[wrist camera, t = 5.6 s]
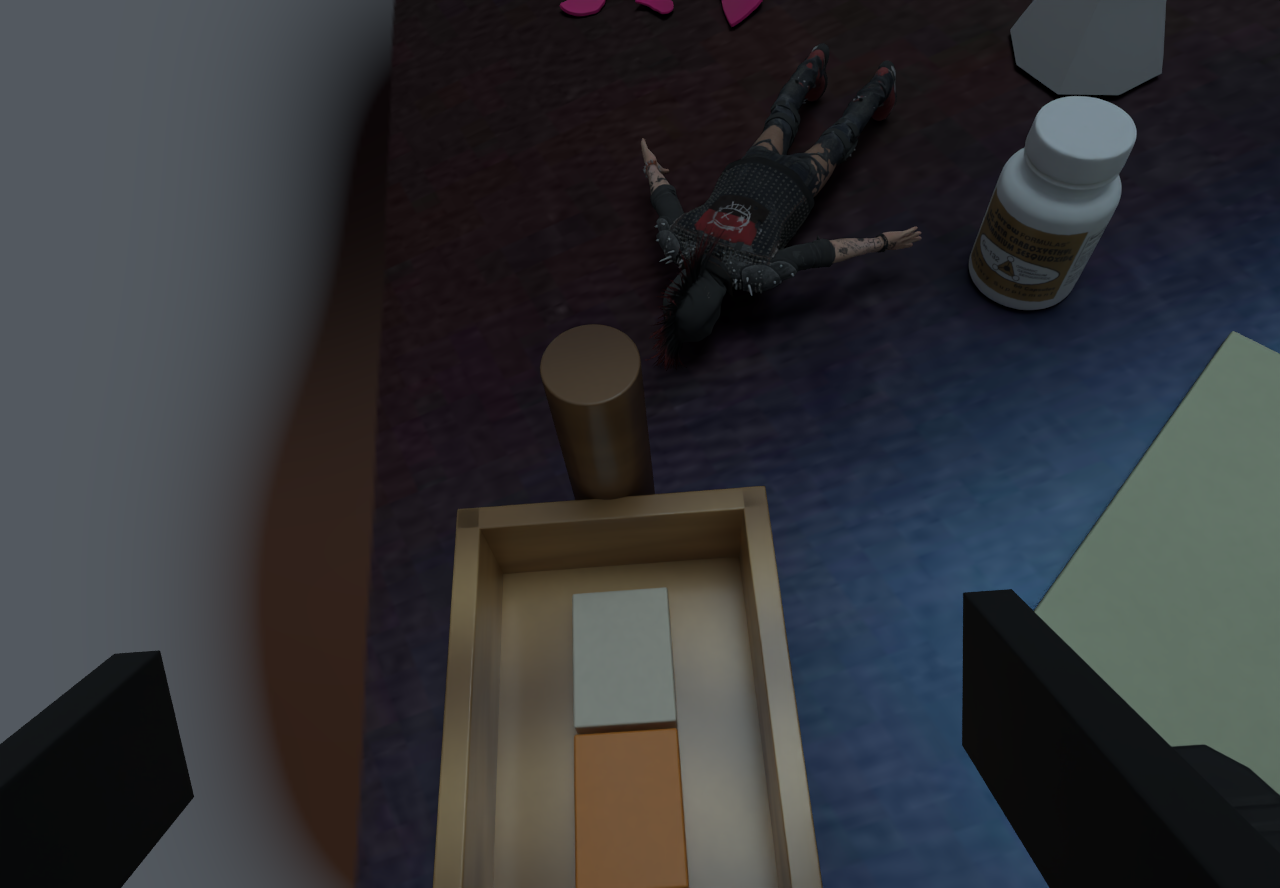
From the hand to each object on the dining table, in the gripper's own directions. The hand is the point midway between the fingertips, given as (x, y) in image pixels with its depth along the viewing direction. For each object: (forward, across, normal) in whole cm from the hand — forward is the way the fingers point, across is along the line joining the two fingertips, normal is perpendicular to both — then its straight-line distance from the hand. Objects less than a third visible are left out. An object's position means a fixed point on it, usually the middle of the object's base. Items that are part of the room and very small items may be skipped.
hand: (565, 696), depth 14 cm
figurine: (+28, +7, +6) cm, 30 cm away
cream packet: (+14, 0, -7) cm, 15 cm away
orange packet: (+10, 0, -10) cm, 14 cm away
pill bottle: (+26, +18, +4) cm, 31 cm away
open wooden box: (+14, 0, -7) cm, 16 cm away
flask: (+36, +25, +14) cm, 46 cm away
